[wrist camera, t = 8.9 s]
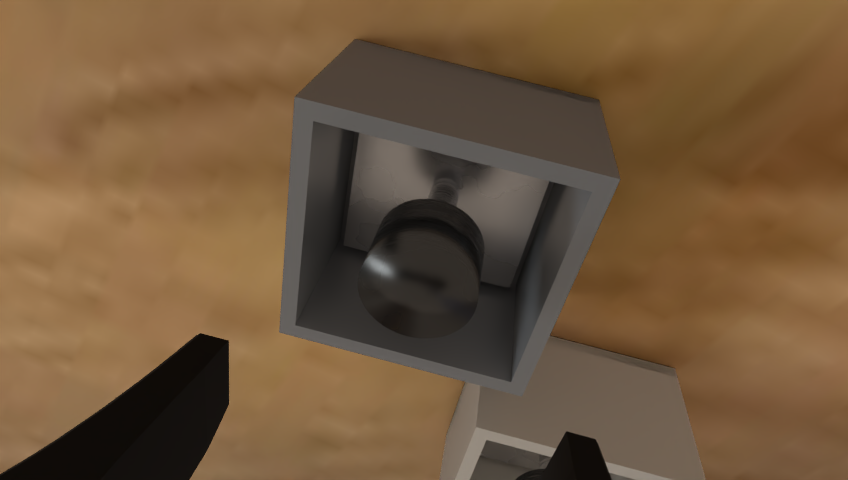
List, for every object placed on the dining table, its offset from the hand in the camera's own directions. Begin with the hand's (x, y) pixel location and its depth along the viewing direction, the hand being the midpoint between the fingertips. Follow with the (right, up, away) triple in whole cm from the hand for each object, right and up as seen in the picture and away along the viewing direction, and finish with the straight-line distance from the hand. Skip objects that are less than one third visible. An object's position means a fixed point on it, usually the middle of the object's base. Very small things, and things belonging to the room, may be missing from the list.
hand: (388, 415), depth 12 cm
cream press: (+7, -4, +14) cm, 16 cm away
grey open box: (+2, +6, +8) cm, 10 cm away
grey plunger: (+2, +6, +8) cm, 10 cm away
